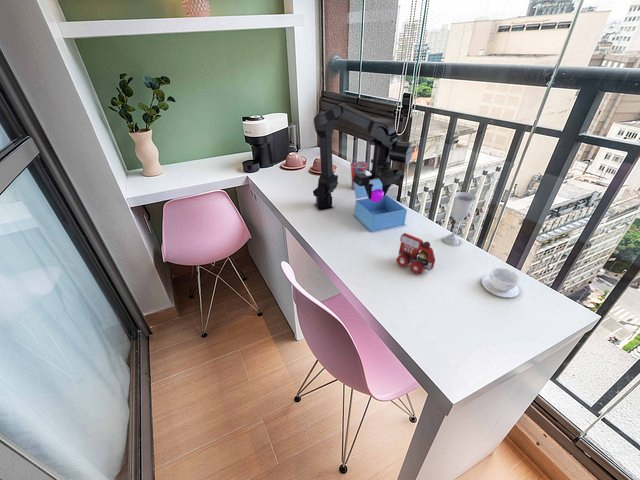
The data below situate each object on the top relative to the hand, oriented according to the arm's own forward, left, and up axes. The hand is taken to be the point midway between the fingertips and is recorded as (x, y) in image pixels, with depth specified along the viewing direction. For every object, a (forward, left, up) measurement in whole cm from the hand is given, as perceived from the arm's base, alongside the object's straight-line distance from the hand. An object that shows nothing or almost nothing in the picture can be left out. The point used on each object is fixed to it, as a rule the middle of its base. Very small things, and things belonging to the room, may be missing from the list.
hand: (376, 197), depth 120 cm
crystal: (0, 0, -1) cm, 1 cm away
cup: (+10, +35, -11) cm, 38 cm away
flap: (+3, +10, 0) cm, 10 cm away
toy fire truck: (-2, -31, -11) cm, 33 cm away
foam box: (+3, +1, -11) cm, 12 cm away
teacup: (+16, -49, -11) cm, 53 cm away
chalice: (+20, -23, -11) cm, 32 cm away
